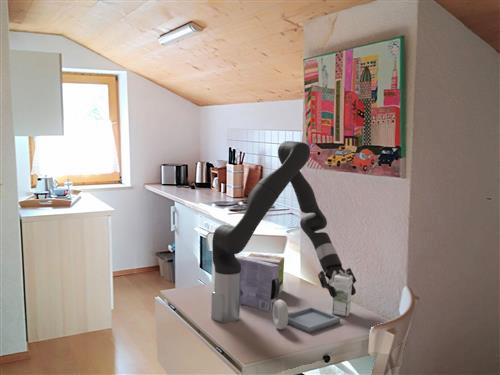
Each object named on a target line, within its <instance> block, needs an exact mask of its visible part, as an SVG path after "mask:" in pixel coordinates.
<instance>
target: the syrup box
mask: <svg viewBox="0 0 500 375" xmlns="http://www.w3.org/2000/svg"><path fill="white" fill-rule="evenodd" d="M333 287H334V289H335V292H336V294H337V296H336V297H335V298H332V312H331V314H332V315H335V316H340V317H341V316H342V317H348V316H349V315H350V314H351V309H352V308H351V305H352V295H351V292H352V275H345V274H339V273H338V274H336V275H335V277H334V282H333Z"/></svg>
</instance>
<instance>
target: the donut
mask: <svg viewBox="0 0 500 375" xmlns="http://www.w3.org/2000/svg"><path fill="white" fill-rule="evenodd" d="M288 313H289V309H288V306H287V303H286V301H284V300H283V299H277V301H276V302H275V303H274V306H273V311H272V319H273V323H274V326H275V328H277V330H280V331H281V330H284V329H286V328H287V326H288V324H287V323H288Z"/></svg>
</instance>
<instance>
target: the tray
mask: <svg viewBox="0 0 500 375" xmlns="http://www.w3.org/2000/svg"><path fill="white" fill-rule="evenodd" d="M339 324H341V316H340V317H339V315H335V314H332V313H329V312H326V311H324V310H322V309H319V308H316V307H314V306H308V307H304V308H302V309H297V310H294V311H292V312H288V323H287V325H289V326H291V327H294V328H295V329H297V330H301V331H303V332H304V333H306V334H307V333H308V334H312V333H315V332H318V331H320V330H323V329H327V328H329V327H332V326H336V325H339Z"/></svg>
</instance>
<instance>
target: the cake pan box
mask: <svg viewBox="0 0 500 375" xmlns="http://www.w3.org/2000/svg"><path fill="white" fill-rule="evenodd" d="M235 257H236V259H237V260H238V261H239V262H240V264H241V284H240V305H244V306H247V307H250V308H254V309H258V310H262V311H265V312H269V313H271V312H273V306H274V303H275V302H276V301H277V300H278V296H279V295H280V294H279V290H280V283H279V278H278V277H279V265H276V264H271V263H267V262H263V261H260V260H255V259H251V258H247V256H240V255H239V256H235ZM278 294H279V295H278Z"/></svg>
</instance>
